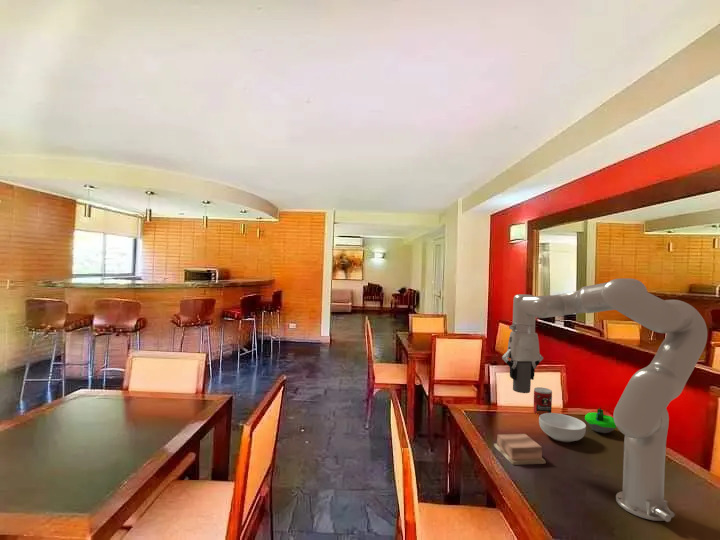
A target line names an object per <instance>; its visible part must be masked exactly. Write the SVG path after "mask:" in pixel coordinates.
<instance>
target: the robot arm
mask: <svg viewBox="0 0 720 540" xmlns="http://www.w3.org/2000/svg"><path fill="white" fill-rule="evenodd" d="M512 303H513V304H512V323H511V325H509V327H508V328H509V330H511V331H510V333H509V336H508V337H509V339H508V344H507V351H506V352H504V354H503V355H502V356H501V359H502V361H504V363H506V364H507V366H508V367H509V377H510V379H512V380H513V379H514V380H516V379H517V369H516V368H515V367H516V365H517V362H531V380H532V381H533V380H534V379H535V370H536V369H537V366H538V365H539V364H540V363H541V362H542V361H543V360H544V356H543V355H542V354H541V353H540V342H539V341H540V340H539V336H538V335H539V334H538V333H537V332H536V318H538V319H546V318H553V317H555V318H556V317H562V316H569V315H576V314H584V313H586V314H593V313H601V312H607V311H608V312H609V311H617V312H619V313H620V314H622V315H624V316H625V317H627V318H629V319H630V320H632V321H634V322H635V323H637V324H639V325H641V326H643V327H644V328H646V329H648V330H650V331H651V332H652V331H653V332H655V333H659V334H666V336H665V338H664V339H663V340H662V342H661V344H660V345H659V347H658V349H657V351H656V353H655V355H654V357H653V358H652V360H651V361H650V363H649V364H648V365H647V366H645V367H643V368H641V369H638V370H637V371H636V372H635V373H634V374H633V375H632V376H631V378H630V379H629V381H628V383H627V384H626V386H625V388H624V390H623V392H622V394H621V396H620V397H619V400H618V401H617V404H616V406H615V407H614V410H613V418H614V422H615V425H616V428H617V430H618V431H619V432H620V433H622V435H624V441H623V467H622V470H623V472H622V491H619V492H617V493H616V495H615V501H616V503H617V504H618V505H619V506H620V507H621V508H622V509H623V510H625V511H626V512H628V513H630V514H631V515H634V516H636V517H639V518H642V519H644V520H645V519H646V520H650V521H653V522H655V521H657V522H662V521H665V522H666V523H669V522H671V520H672V518H675V515H676V513H675V512H673V511H672V510H670V508H669V507H668V500H666V499H665V471H666V450H667V449H666V447H667V437H668V430H669V421H670V416H669V411H668V409H667V407H668V406H669V404H670V403H671V402H672V401H674V400H675V399H677V398H678V397H679V396H680V395H681V394H682V392H683V390H684V388H685V386H686V384H687V382H688V380H689V378H690V376H691V375H692V373H693V371H694V369H695V367H696V365H697V363H698V362H699V359H700V357H701V356H702V354H703V352H704V350H705V348H706V344H707V341H708V328H707V324H706V321H705V319H704V318H703V316H702V315H701V313H700V312H699V311H698V309H696V308H695V307H694V306H693V305H691V304H690V303H687V302H685V301H682V300H679V299H665V300H664V299H662V298H660V297H658V296H656V295H654V294H653V293H650V292H648V289H647V287H646V285H645V284H644V283H643V282H642V281H641V280H639V279H636V278H628V277H627V278H615V279H611V280H609V281H608V282H602V283H597V284H590V285H585V286H582V287H581V288H579V289H578V290H575V291H572V292H571V291H570V292H566V293H561V294H560V293H558V294H551V295H549V294H548V295H537V296H536V295H533V294H524V293H523V294H522V293H521V294H520V293H519V294H515V295H514V297H513V302H512Z"/></svg>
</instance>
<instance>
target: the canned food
mask: <svg viewBox="0 0 720 540" xmlns="http://www.w3.org/2000/svg"><path fill="white" fill-rule="evenodd" d="M552 400H553V391H552V390H551V389H549V388H546V387H537V386H536V387H535V388H534V389H533V412H535V413H534V414H536V413H537V414H536V415H538V414H539V415H538V416H540V415H541V414H544V413H552V405H553V404H552V403H553V402H552Z"/></svg>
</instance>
